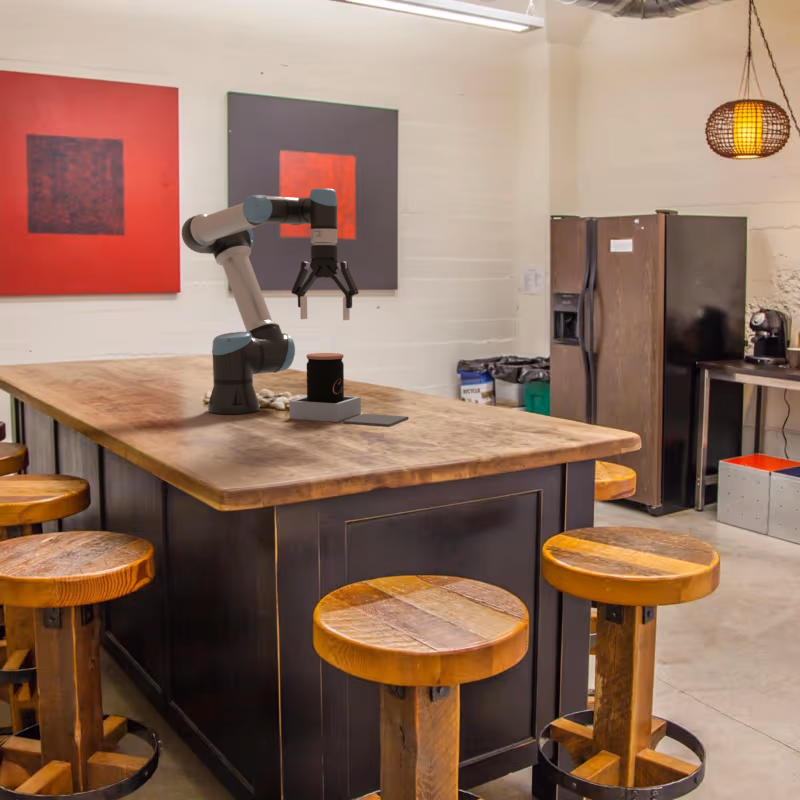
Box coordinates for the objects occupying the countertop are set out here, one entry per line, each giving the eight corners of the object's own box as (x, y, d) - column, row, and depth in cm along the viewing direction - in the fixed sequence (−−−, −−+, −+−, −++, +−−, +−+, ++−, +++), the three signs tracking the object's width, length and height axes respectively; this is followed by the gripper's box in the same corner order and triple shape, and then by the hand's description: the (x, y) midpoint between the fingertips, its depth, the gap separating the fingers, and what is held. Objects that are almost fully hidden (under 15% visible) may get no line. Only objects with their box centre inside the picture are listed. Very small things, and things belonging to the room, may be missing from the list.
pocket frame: (289, 418, 263) (289, 401, 263) (314, 410, 278) (314, 394, 277) (337, 421, 258) (337, 404, 257) (360, 413, 272) (360, 397, 271)
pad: (343, 423, 256) (343, 421, 255) (364, 415, 268) (364, 413, 268) (389, 426, 250) (389, 424, 250) (408, 418, 263) (408, 416, 263)
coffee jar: (338, 419, 261) (337, 356, 259) (302, 418, 263) (301, 356, 261) (348, 413, 272) (347, 353, 269) (313, 412, 274) (312, 352, 271)
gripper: (279, 244, 262) (280, 319, 265) (358, 243, 252) (358, 321, 255) (291, 245, 269) (293, 317, 272) (369, 244, 259) (369, 319, 262)
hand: (324, 319), depth 263 cm, fingers open, 13 cm apart
